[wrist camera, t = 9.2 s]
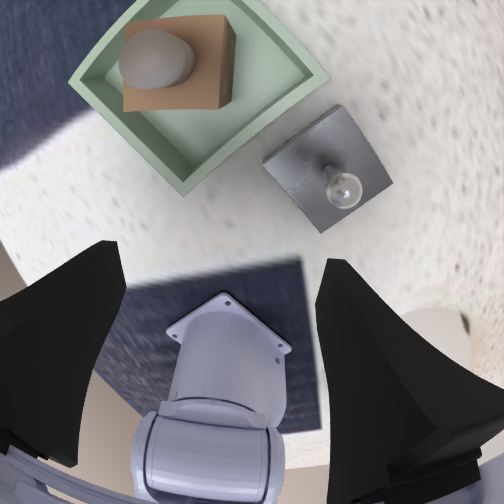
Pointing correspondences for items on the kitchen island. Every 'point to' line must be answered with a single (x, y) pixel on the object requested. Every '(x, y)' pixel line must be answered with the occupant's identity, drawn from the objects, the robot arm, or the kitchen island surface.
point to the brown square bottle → (178, 63)
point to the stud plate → (328, 169)
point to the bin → (203, 120)
